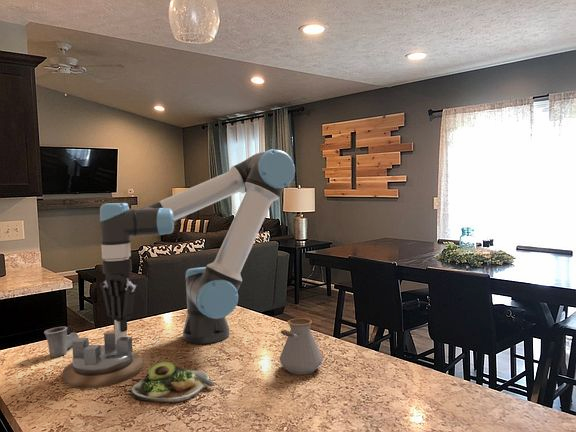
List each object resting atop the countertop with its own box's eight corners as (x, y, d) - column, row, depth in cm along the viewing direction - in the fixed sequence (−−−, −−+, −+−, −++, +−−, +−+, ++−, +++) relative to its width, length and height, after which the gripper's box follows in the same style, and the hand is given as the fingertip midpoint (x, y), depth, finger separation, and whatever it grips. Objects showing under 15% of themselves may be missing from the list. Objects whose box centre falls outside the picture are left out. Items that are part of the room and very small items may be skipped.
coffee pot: (287, 359, 129) (286, 306, 128) (327, 362, 125) (326, 308, 125) (259, 391, 109) (257, 330, 108) (306, 397, 105) (304, 333, 104)
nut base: (152, 357, 133) (152, 349, 133) (126, 387, 114) (126, 378, 113) (85, 358, 134) (84, 351, 134) (47, 388, 114) (46, 380, 114)
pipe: (83, 345, 146) (81, 320, 146) (59, 360, 134) (57, 333, 133) (65, 345, 147) (63, 320, 147) (39, 360, 134) (37, 333, 134)
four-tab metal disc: (140, 353, 131) (139, 329, 130) (120, 374, 116) (118, 347, 116) (89, 354, 131) (87, 330, 131) (61, 375, 116) (60, 348, 116)
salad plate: (229, 377, 118) (228, 360, 118) (194, 410, 101) (194, 390, 101) (163, 370, 124) (163, 353, 124) (121, 400, 107) (120, 381, 107)
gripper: (144, 257, 127) (148, 341, 128) (112, 255, 133) (116, 335, 135) (122, 262, 120) (126, 350, 122) (89, 259, 127) (94, 343, 128)
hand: (121, 342), depth 128 cm, fingers closed
